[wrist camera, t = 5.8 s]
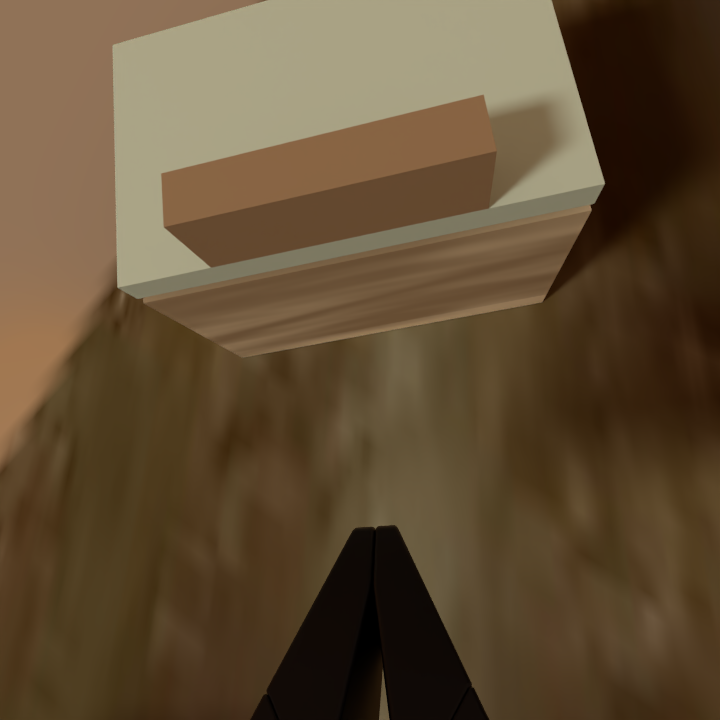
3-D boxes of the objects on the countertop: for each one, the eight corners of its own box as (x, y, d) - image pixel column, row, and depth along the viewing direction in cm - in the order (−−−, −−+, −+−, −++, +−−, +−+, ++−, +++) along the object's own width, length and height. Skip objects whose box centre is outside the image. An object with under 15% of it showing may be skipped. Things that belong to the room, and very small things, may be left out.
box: (542, 302, 22) (591, 210, 14) (242, 357, 24) (143, 303, 16) (500, 128, 24) (524, -33, 16) (228, 192, 26) (135, 74, 18)
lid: (594, 203, 14) (640, 118, 11) (137, 298, 16) (54, 252, 13) (524, -43, 16) (544, -178, 13) (130, 67, 18) (57, -25, 15)
